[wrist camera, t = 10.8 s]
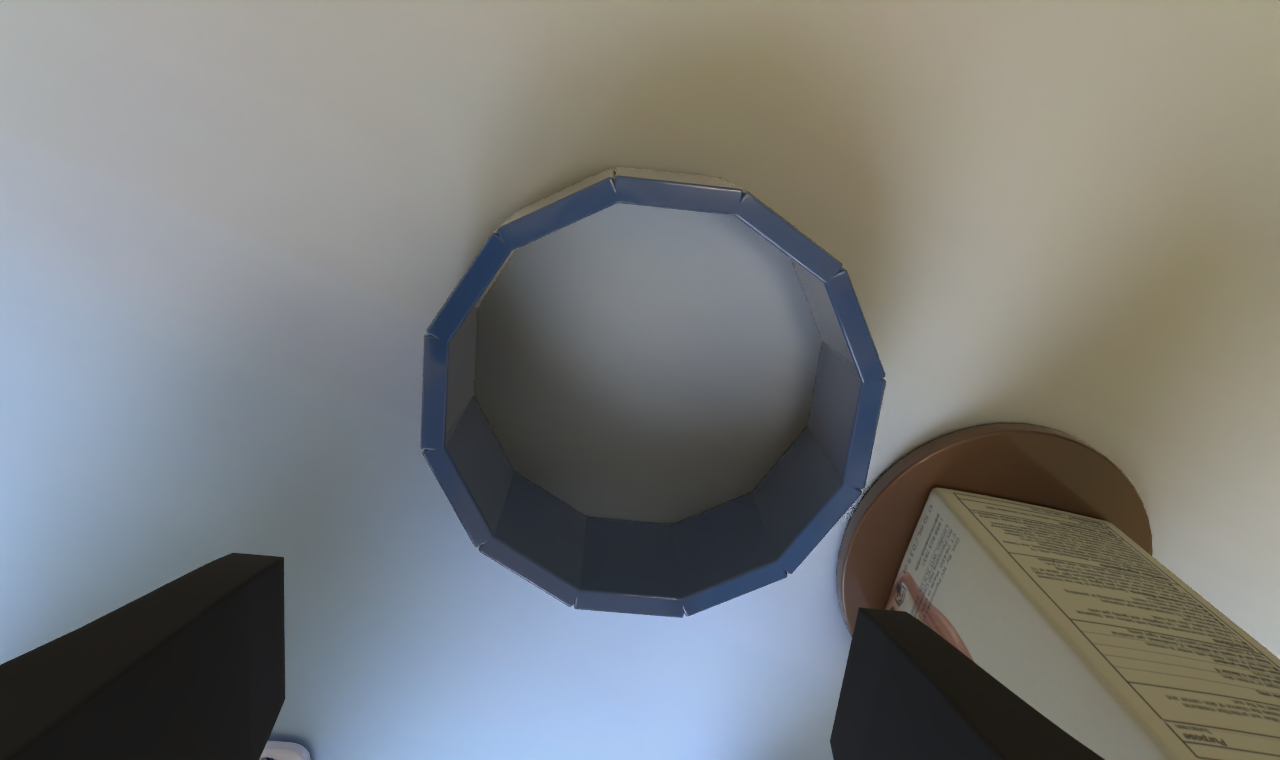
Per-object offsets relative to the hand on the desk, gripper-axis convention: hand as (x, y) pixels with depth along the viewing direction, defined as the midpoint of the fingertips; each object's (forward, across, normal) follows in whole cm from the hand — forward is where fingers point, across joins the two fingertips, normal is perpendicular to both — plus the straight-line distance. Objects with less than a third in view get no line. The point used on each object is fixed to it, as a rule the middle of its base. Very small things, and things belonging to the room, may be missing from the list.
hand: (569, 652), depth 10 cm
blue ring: (+10, -1, -1) cm, 10 cm away
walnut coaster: (+10, -11, +4) cm, 15 cm away
